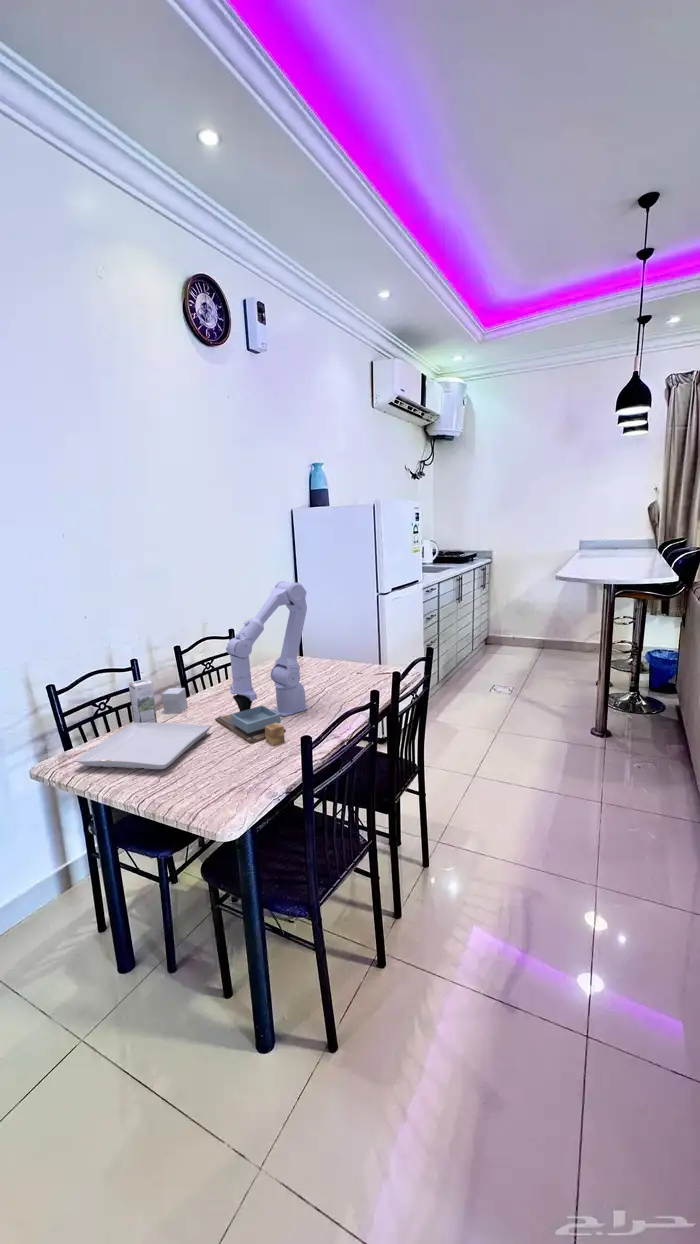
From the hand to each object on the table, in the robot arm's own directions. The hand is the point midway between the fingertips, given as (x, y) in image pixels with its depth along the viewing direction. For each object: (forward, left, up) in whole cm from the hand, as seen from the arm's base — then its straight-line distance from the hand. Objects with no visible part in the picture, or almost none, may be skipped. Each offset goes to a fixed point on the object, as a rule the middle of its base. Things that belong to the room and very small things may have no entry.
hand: (245, 716), depth 163 cm
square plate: (+30, -2, -3) cm, 30 cm away
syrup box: (+24, -25, -3) cm, 35 cm away
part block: (0, +19, -3) cm, 19 cm away
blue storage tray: (0, +7, -1) cm, 7 cm away
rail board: (0, +2, -3) cm, 4 cm away
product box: (+12, -30, -3) cm, 33 cm away
